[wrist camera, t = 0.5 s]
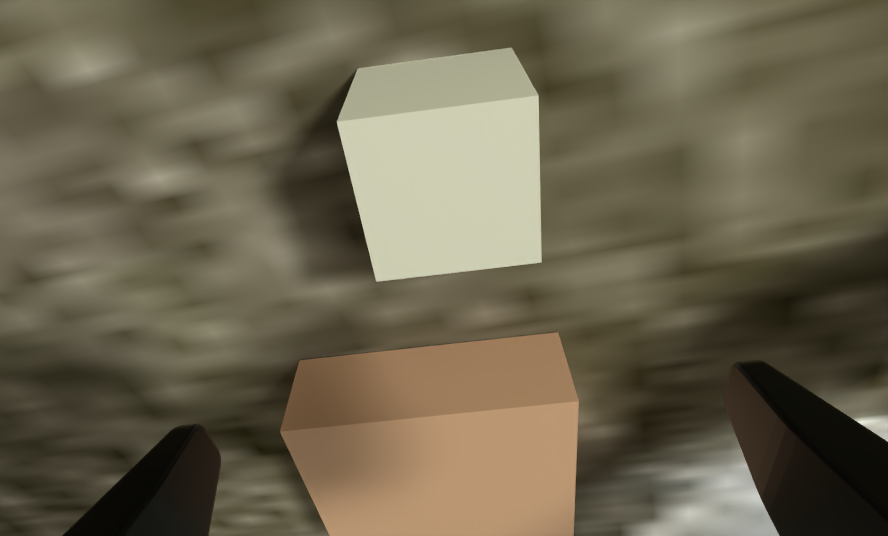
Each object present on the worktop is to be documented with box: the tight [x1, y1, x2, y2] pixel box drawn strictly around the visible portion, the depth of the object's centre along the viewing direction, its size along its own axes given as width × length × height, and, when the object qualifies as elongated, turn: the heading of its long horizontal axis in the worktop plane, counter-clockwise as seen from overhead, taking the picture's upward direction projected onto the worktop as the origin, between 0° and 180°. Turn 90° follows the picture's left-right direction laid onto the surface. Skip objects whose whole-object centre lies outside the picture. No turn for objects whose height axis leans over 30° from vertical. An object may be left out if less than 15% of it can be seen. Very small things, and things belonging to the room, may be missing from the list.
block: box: [337, 48, 541, 282], centre depth 16 cm, size 5×5×5 cm
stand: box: [280, 332, 579, 536], centre depth 26 cm, size 12×12×4 cm
